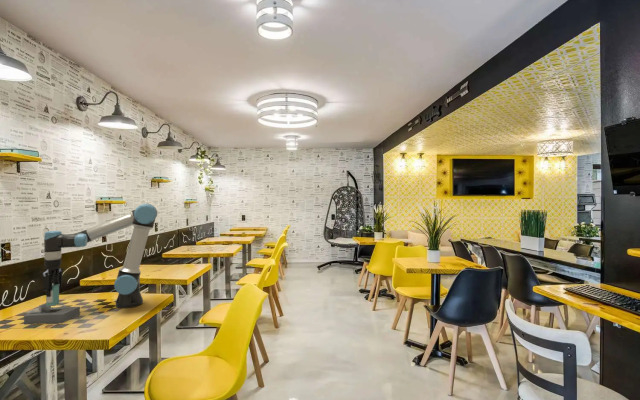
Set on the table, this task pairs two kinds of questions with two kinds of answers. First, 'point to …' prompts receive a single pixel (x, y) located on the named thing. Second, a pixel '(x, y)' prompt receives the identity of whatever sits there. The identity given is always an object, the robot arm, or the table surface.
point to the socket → (52, 315)
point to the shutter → (40, 309)
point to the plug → (54, 295)
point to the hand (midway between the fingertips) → (52, 301)
